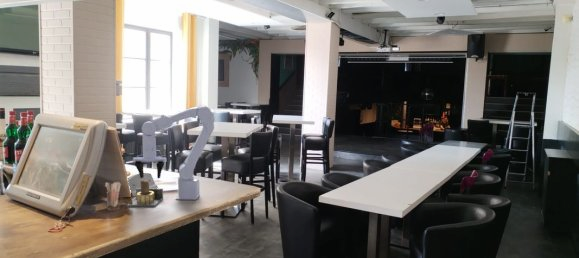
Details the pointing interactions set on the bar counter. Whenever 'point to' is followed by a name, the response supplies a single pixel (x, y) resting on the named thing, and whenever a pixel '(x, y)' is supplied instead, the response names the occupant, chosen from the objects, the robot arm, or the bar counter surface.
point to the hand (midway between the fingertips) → (150, 177)
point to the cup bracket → (147, 198)
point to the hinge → (136, 182)
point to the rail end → (144, 187)
